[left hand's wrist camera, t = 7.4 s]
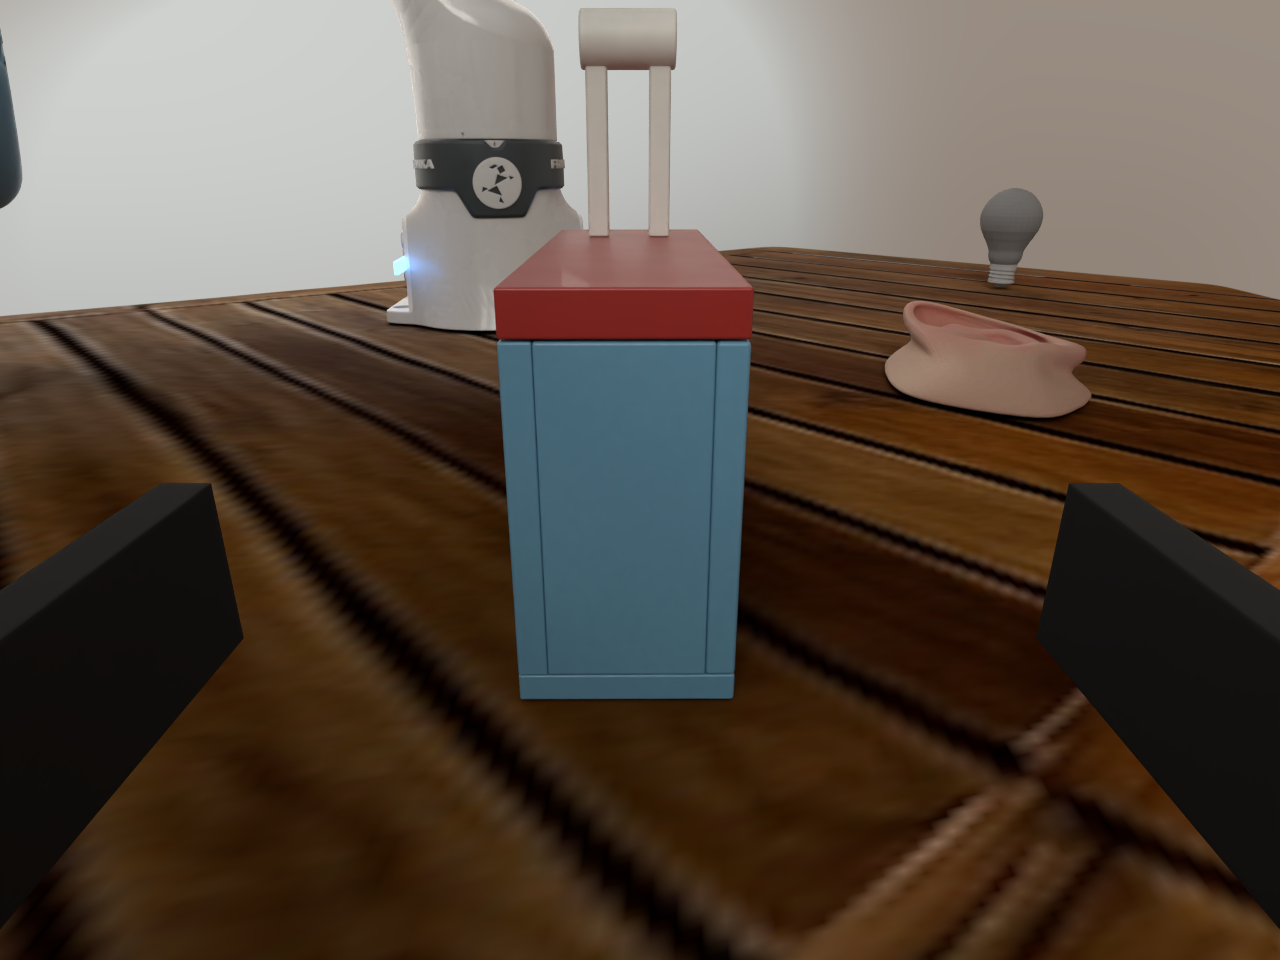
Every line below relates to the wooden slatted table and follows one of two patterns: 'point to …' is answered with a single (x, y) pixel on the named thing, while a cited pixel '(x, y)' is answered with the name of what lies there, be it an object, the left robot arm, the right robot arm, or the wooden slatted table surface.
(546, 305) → the lid
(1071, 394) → the anatomical model
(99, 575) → the left robot arm
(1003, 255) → the light bulb
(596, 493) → the chest
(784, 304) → the wooden slatted table surface
